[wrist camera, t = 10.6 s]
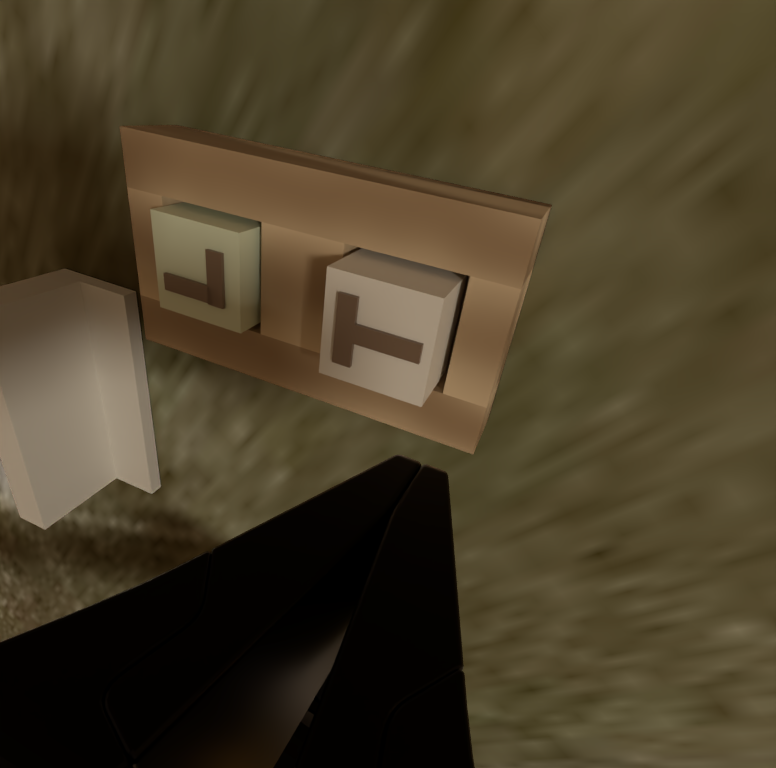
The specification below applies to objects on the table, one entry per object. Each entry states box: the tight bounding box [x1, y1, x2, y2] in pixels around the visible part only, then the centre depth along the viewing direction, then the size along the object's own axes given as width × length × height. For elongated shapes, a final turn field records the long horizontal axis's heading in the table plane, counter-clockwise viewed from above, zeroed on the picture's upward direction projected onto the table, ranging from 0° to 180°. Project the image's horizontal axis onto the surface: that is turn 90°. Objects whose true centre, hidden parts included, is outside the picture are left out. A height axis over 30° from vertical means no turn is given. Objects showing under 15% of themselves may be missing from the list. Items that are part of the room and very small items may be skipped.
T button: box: [319, 248, 468, 407], centre depth 18 cm, size 4×4×3 cm
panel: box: [120, 125, 552, 454], centre depth 20 cm, size 9×16×3 cm, turn 81°
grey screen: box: [0, 269, 161, 530], centre depth 28 cm, size 14×5×6 cm, turn 171°
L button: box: [150, 202, 262, 333], centre depth 21 cm, size 4×4×3 cm
